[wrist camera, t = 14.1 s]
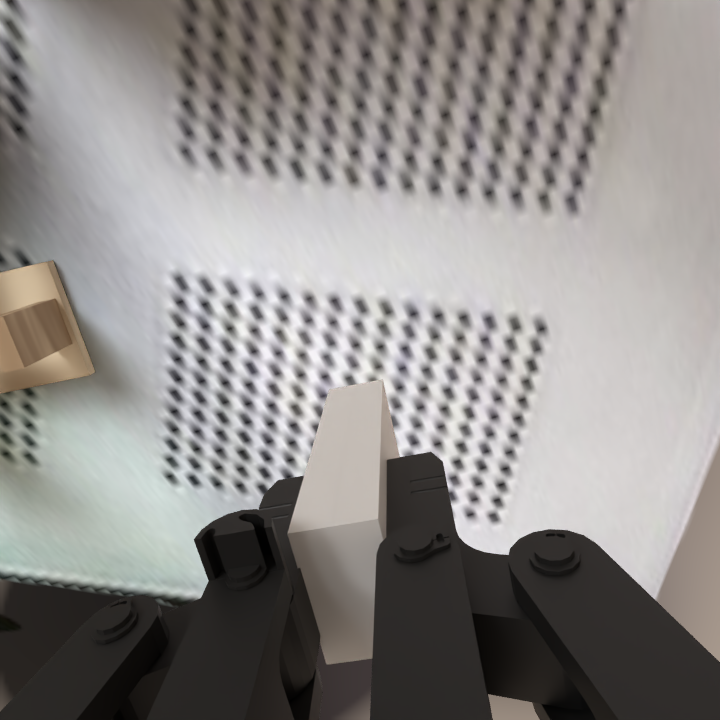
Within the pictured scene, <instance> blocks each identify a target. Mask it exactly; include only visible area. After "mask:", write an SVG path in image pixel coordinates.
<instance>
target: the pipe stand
mask: <svg viewBox="0 0 720 720" xmlns="http://www.w3.org/2000/svg"><path fill="white" fill-rule="evenodd" d="M94 372H95V370H94V367H93V364H92V362H91V359H90V357H89V354H88V351H87V349H86V346H85V343H84V341H83V338H82V336H81V333H80V330H79V328H78V325H77V322H76V320H75V317H74V315H73V312H72V309H71V307H70V304H69V301H68V299H67V296H66V294H65V291H64V288H63V286H62V283H61V280H60V278H59V275H58V273H57V270H56V267H55V265H54V262H53V260H52V261H48V262H43V263H39V264H35V265H30V266H26V267H22V268H17V269H13V270H9V271H4V272H0V393H5V392H10V391H15V390H20V389H25V388H30V387H35V386H40V385H44V384H49V383H54V382H59V381H64V380H69V379H74V378H79V377H84V376H89V375H91V374H93V373H94Z"/></svg>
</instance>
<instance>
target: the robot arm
mask: <svg viewBox="0 0 720 720" xmlns="http://www.w3.org/2000/svg"><path fill="white" fill-rule="evenodd" d="M194 541H195V544H196V547H197V550H198V552H199V555H200V558H201V561H202V564H203V566H204V569H205V572H206V575H207V577H208V580H209V582H208V584H207V586H206V588H205V591H204V593H203V595H202V597H201V598H200V599H198V600H196V601H194V602H192V603H189V604H186V605H184V606H181V607H178V608H176V609H173V610H171V611H168V612H165V613H163V614H162V612H161V610H160V607H159V604H158V603H157V602H156V601H155V599H154V598H153V597H149V596H145V595H138V596H130V597H127V598H123V599H121V600H117V601H115V602H113V603H111V604H109V605H108V606H106V607H105V608H103V609H101V610H100V611H98V612H97V613H95V614H94V615H93V616H92V617H91V618H90V619H88V620H87V621H86V622H85V623H84V624H83V625H82V626H81V627H80V628H79V629H78V630H77V631H76V632H75V633H74V635H73V636H72V637H71V638H70V639H69V640H68V641H67V642H66V643H65V644H64V645H63V646H62V647H61V648H60V649H59V650H58V651H57V652H56V653H55V655H54V656H53V657H52V658H51V659H50V660H49V661H48V662H47V663H46V664H45V665H44V666H43V667H42V668H41V669H40V671H38V672H37V674H36V675H35V676H34V677H33V678H32V679H31V680H30V681H29V682H28V683H27V684H26V685H25V686H24V687H23V688H22V689H21V690H20V692H19V693H18V694H17V695H16V696H15V697H14V698H13V699H12V700H11V701H10V702H9V703H8V704H7V705H6V706H5V707H4V708H3V709H2V711H1V712H0V720H319V717H320V709H321V700H322V693H323V690H322V680H321V677H320V673H319V670H318V667H317V663H316V662H317V656H318V649H319V642H320V644H321V647H322V651H323V653H324V657H325V661H326V664H334V663H341V662H349V661H357V660H364V659H372V683H371V709H370V720H493V719H492V713H491V708H490V702H489V697H488V694H491V695H496V696H502V697H507V698H513V699H519V700H523V701H529V702H532V703H533V706H534V709H535V712H536V714H537V715H538V717H539V719H540V720H720V662H719V661H718V660H717V659H716V658H715V657H714V656H713V655H712V654H711V653H709V652H708V651H707V650H706V649H705V648H704V647H703V646H702V645H701V644H700V643H699V642H698V641H697V640H696V639H695V638H694V637H693V636H692V635H691V634H690V633H689V632H688V631H687V630H686V629H685V628H684V627H683V626H681V625H680V624H679V623H678V622H677V621H676V620H675V619H674V618H673V617H672V616H671V615H670V614H669V613H668V612H667V611H666V610H665V609H664V608H663V607H662V606H661V605H660V604H659V603H658V602H657V601H656V600H654V599H653V598H652V597H651V596H650V595H649V594H648V593H647V592H646V591H645V590H644V589H643V588H642V587H641V586H640V585H639V584H638V583H637V582H636V581H635V580H634V579H633V578H632V577H631V576H630V575H629V574H627V573H626V572H625V571H624V570H623V569H622V568H621V567H620V566H619V565H618V564H617V563H616V562H615V561H614V560H613V559H612V558H611V557H610V556H609V555H608V554H607V553H606V552H605V551H604V550H603V549H602V548H600V547H599V546H598V545H597V544H596V543H595V542H593V541H591V540H590V539H588V538H587V537H585V536H584V535H581V534H577V533H574V532H571V531H568V530H551V529H549V530H543V531H538V532H533V533H531V534H529V535H526V536H524V537H522V538H520V539H519V540H518V541H517V542H516V543H515V544H514V545H513V546H512V547H511V548H510V552H509V555H500V554H492V553H486V552H482V551H479V550H476V549H473V548H472V547H470V546H468V545H467V544H465V543H464V542H463V541H462V540H461V539H460V538H459V536H458V534H457V532H456V528H455V522H454V517H453V512H452V507H451V502H450V497H449V492H448V487H447V482H446V477H445V471H444V466H443V462H442V461H441V460H440V459H439V458H438V457H436V456H435V455H434V454H433V453H432V452H428V453H422V454H417V455H411V456H405V457H400V456H399V452H398V447H397V443H396V438H395V434H394V429H393V425H392V420H391V415H390V411H389V406H388V402H387V397H386V393H385V388H384V384H383V379H382V380H377V381H372V382H367V383H361V384H356V385H351V386H346V387H340V388H335V389H330V390H329V392H328V395H327V399H326V402H325V406H324V409H323V413H322V416H321V420H320V423H319V426H318V430H317V433H316V437H315V440H314V444H313V447H312V451H311V454H310V457H309V461H308V464H307V468H306V471H305V475H304V476H300V477H294V478H288V479H283V480H278V481H277V482H276V483H275V484H274V485H273V486H272V487H271V488H270V489H269V490H268V491H267V492H266V493H265V494H264V497H263V499H262V502H261V504H260V507H259V510H257V509H253V510H241V511H237V512H234V513H230V514H227V515H225V516H223V517H221V518H219V519H217V520H215V521H213V522H212V523H210V524H209V525H207V526H206V527H205V528H203V529H202V530H201V531H200V533H199V534H198V535H197V536H196V537H195V539H194Z"/></svg>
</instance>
